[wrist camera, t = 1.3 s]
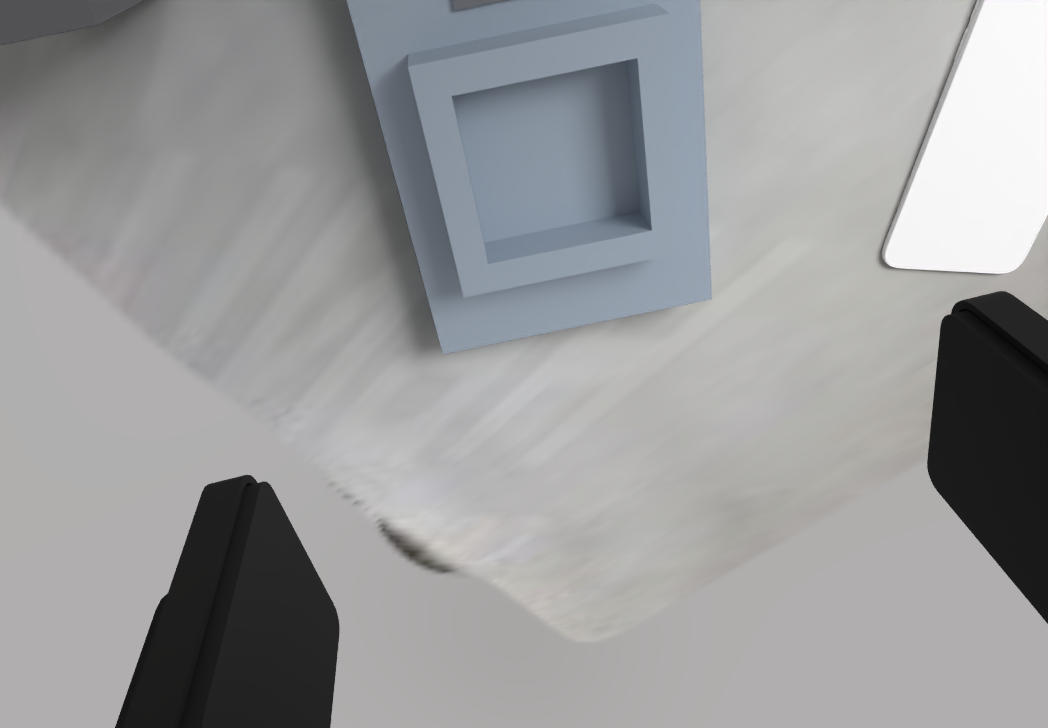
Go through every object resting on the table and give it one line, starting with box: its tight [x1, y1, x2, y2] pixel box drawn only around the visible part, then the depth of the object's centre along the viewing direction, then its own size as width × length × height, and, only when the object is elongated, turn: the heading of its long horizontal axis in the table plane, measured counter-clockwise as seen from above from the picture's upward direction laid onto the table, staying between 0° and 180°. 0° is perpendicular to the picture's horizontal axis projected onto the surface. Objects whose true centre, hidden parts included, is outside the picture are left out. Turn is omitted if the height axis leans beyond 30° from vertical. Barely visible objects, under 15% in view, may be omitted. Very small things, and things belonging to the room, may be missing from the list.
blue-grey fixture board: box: [347, 0, 712, 354], centre depth 28 cm, size 24×12×4 cm, turn 9°
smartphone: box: [882, 0, 1048, 274], centre depth 33 cm, size 7×1×15 cm
